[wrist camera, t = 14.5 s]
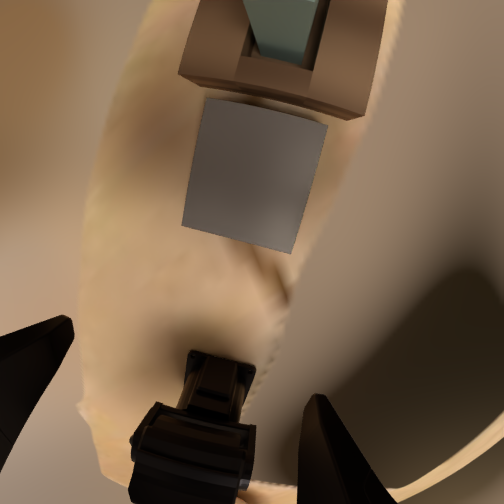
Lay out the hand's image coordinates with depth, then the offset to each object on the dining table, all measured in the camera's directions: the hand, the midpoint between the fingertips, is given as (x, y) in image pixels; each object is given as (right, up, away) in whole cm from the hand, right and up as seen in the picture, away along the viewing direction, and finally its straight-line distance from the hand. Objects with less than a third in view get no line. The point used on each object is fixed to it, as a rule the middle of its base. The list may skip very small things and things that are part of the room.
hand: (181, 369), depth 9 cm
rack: (+5, +19, +6) cm, 20 cm away
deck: (+3, +9, +10) cm, 14 cm away
